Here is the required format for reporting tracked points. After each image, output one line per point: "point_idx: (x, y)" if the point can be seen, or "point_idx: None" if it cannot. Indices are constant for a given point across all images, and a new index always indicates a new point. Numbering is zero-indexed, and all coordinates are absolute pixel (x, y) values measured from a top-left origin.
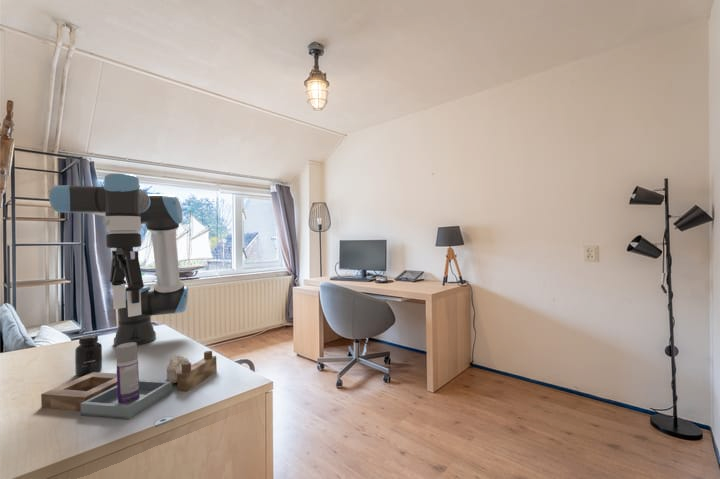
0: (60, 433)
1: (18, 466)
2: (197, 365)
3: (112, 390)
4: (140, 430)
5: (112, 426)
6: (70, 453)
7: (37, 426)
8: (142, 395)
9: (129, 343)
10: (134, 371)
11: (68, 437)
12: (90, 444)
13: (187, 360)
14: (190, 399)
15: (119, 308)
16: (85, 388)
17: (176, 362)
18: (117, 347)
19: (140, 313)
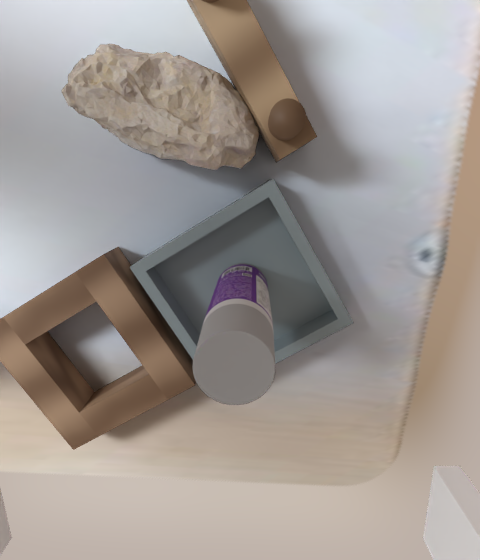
0: (280, 417)
1: (356, 474)
2: (263, 63)
3: (180, 320)
4: (427, 306)
5: (346, 342)
6: (391, 416)
7: (201, 441)
8: (236, 252)
9: (217, 354)
10: (268, 307)
11: (315, 409)
12: (389, 387)
13: (128, 57)
14: (375, 158)
15: (3, 506)
16: (53, 349)
17: (167, 119)
18: (241, 403)
19: (463, 480)
